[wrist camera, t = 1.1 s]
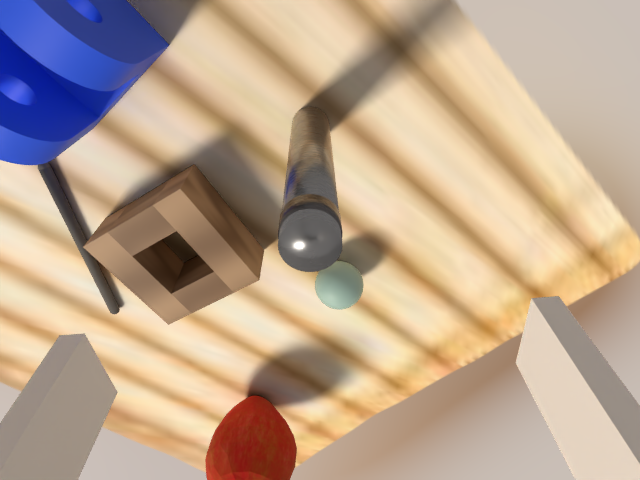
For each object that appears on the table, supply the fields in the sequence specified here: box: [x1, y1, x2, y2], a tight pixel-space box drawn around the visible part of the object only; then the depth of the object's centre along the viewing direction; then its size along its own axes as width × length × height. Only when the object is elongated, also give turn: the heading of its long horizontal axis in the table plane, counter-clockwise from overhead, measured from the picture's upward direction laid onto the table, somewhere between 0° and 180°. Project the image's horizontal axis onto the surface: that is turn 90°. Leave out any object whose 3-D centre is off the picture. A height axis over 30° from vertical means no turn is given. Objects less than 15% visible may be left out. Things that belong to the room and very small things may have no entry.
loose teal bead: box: [315, 261, 363, 309], centre depth 35 cm, size 4×4×4 cm
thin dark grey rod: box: [38, 163, 119, 314], centre depth 34 cm, size 15×1×1 cm, turn 5°
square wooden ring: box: [83, 164, 264, 325], centre depth 33 cm, size 9×9×4 cm
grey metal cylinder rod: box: [278, 107, 342, 272], centre depth 23 cm, size 3×3×15 cm
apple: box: [206, 396, 297, 480], centre depth 42 cm, size 9×8×11 cm
